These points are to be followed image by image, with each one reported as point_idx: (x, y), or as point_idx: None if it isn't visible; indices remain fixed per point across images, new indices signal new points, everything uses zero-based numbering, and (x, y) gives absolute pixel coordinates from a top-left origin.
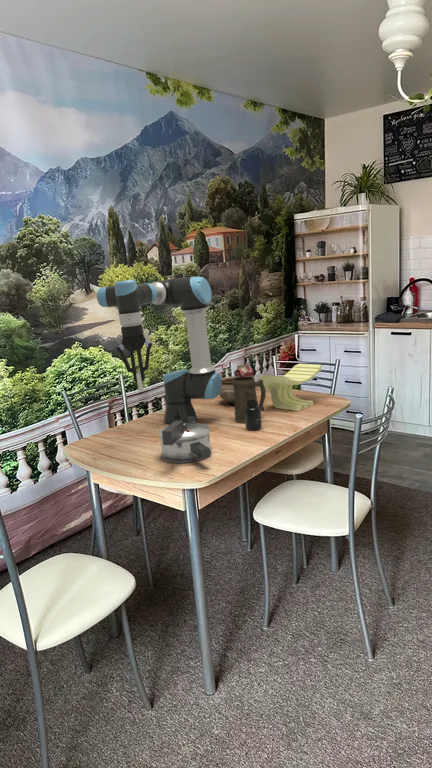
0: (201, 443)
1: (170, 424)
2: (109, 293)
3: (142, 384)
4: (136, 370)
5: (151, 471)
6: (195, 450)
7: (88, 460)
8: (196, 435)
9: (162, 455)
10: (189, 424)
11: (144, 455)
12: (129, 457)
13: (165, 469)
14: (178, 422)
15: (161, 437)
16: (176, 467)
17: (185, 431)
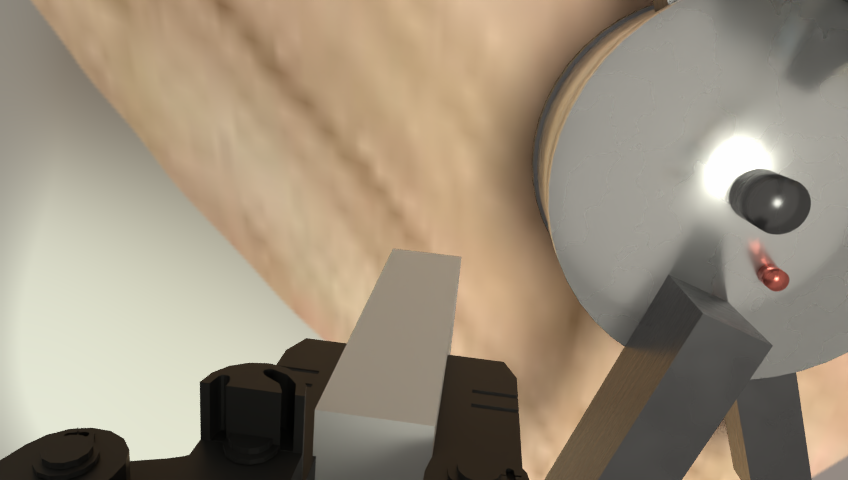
0: (796, 382)
1: (647, 405)
2: None
3: (451, 328)
4: (304, 422)
5: (454, 349)
6: (730, 409)
7: (76, 6)
8: (801, 367)
9: (537, 176)
10: (844, 45)
11: (429, 55)
12: (334, 56)
13: (528, 350)
14: (723, 378)
15: (555, 252)
16: (588, 344)
17: (752, 247)
